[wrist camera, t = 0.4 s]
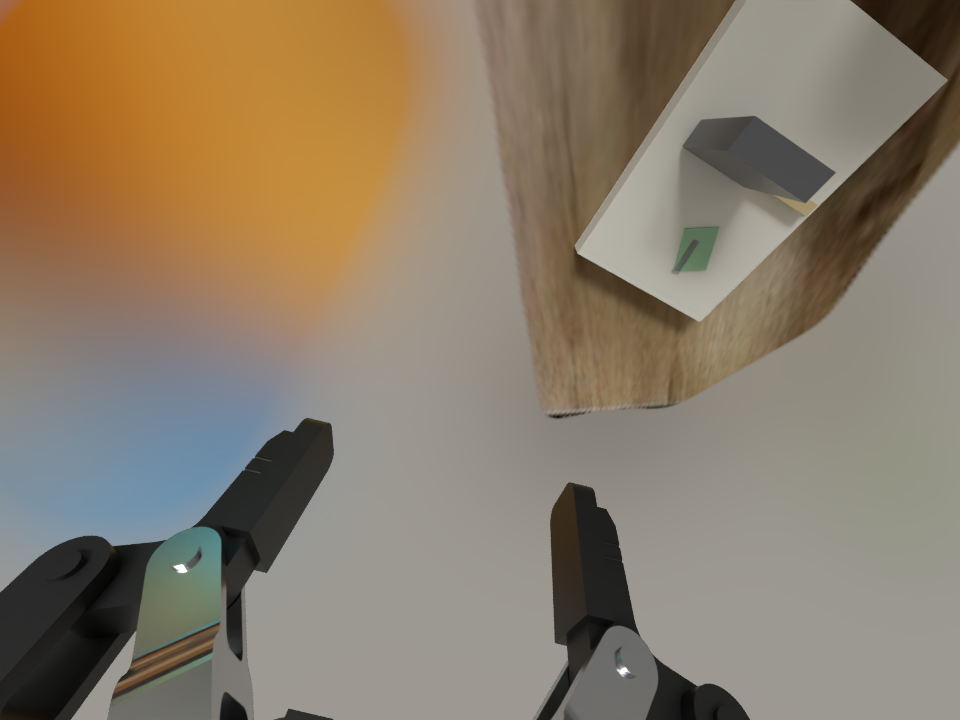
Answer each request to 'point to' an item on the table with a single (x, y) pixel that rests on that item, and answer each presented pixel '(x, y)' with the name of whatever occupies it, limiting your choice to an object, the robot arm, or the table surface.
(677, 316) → the table surface
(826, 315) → the table surface
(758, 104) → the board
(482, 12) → the table surface
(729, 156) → the dark gray beam
